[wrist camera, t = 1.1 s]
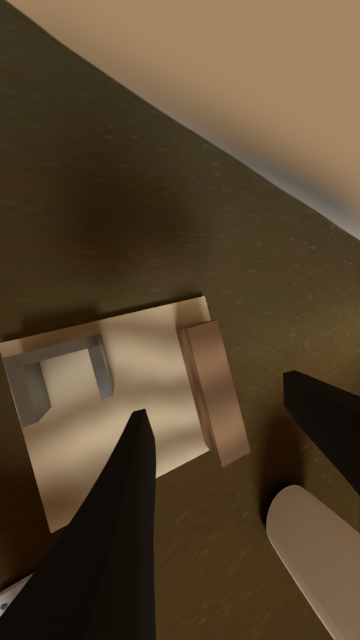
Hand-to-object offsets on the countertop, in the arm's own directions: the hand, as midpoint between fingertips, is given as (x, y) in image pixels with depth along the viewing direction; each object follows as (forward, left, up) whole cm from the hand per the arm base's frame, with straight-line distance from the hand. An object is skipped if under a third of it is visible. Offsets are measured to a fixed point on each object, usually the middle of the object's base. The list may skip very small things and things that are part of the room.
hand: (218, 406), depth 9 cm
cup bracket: (+3, +9, -12) cm, 15 cm away
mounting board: (-2, +4, -13) cm, 14 cm away
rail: (-3, -4, -12) cm, 13 cm away
